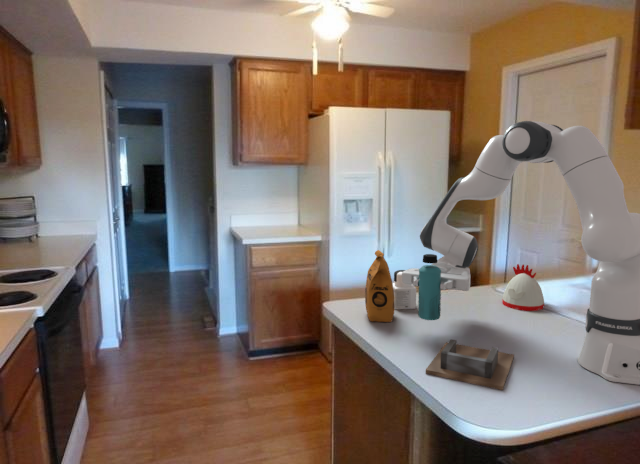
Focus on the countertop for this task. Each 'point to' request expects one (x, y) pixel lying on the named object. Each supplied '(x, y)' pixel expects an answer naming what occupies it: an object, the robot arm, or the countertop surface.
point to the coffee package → (379, 291)
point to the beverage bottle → (429, 289)
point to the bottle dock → (472, 365)
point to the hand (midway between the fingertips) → (428, 285)
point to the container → (403, 293)
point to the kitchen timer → (523, 291)
